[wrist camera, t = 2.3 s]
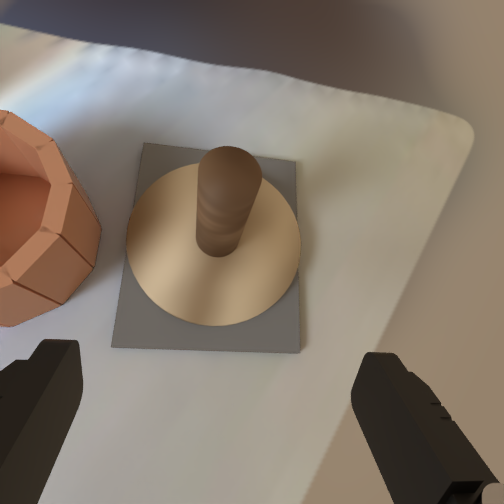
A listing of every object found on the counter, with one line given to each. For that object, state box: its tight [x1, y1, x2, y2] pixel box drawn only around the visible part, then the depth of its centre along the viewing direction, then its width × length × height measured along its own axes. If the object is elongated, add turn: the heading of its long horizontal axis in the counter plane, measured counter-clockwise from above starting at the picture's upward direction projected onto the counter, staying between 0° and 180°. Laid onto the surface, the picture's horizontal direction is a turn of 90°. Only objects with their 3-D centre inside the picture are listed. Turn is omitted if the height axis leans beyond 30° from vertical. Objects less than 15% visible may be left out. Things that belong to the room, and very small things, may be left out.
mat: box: [111, 143, 300, 353], centre depth 24 cm, size 12×15×1 cm
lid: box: [126, 146, 301, 326], centre depth 19 cm, size 12×12×9 cm
